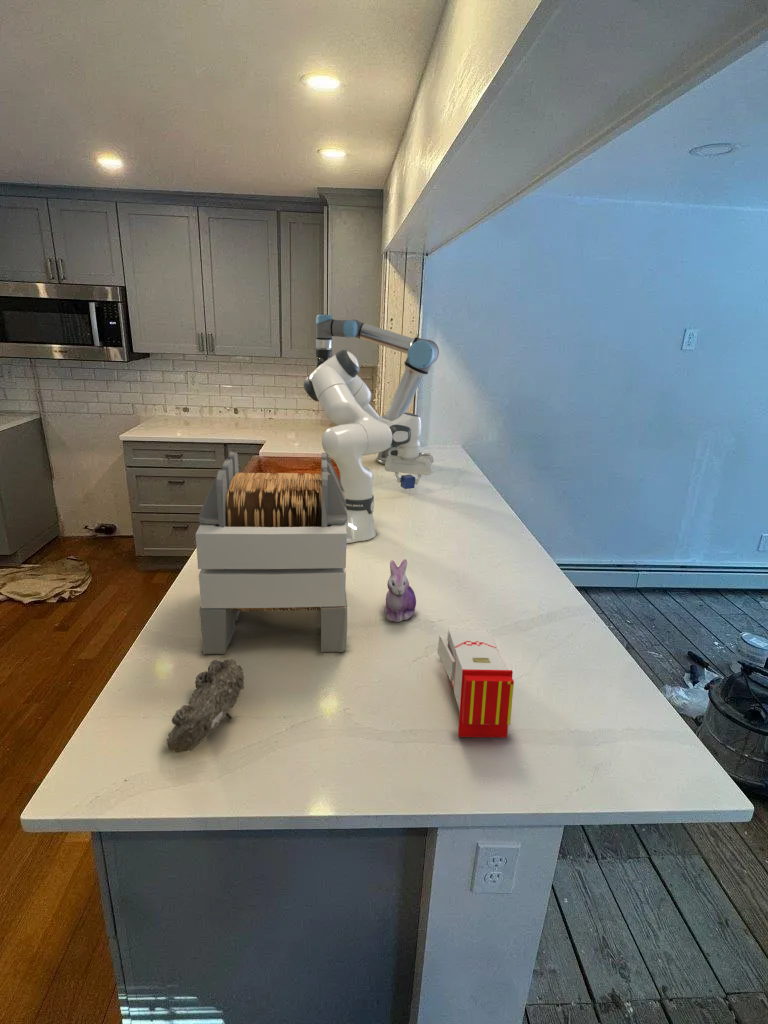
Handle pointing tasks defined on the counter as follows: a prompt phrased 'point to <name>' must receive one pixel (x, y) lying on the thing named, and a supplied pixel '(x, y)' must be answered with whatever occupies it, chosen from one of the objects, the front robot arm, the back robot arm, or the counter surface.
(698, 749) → the counter surface
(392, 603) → the figurine
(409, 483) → the brick
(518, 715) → the counter surface
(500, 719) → the toy
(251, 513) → the transformer
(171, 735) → the fossil
